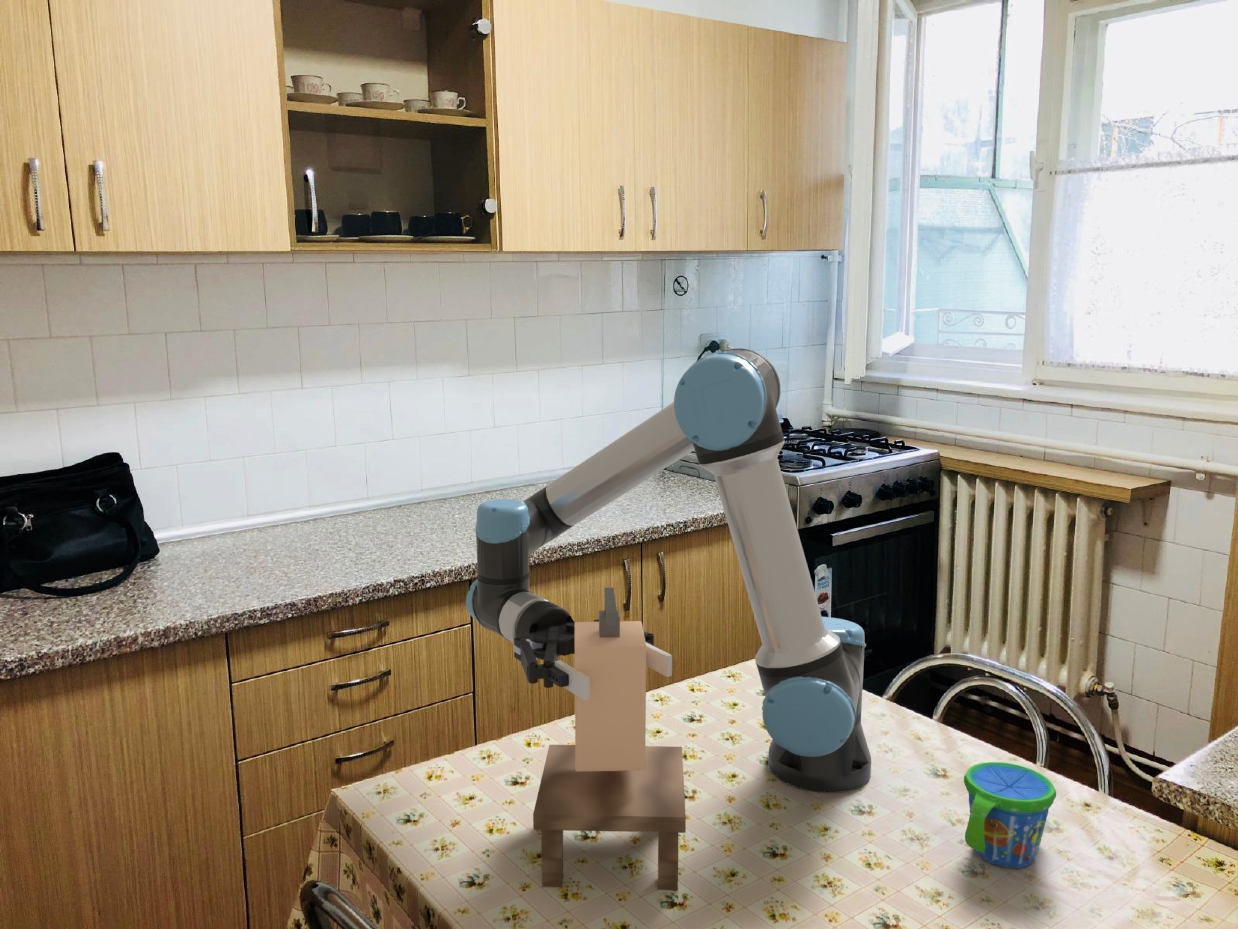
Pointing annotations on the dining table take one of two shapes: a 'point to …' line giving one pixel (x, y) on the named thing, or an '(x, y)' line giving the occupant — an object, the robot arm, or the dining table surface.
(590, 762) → the soap dispenser
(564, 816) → the walnut stool
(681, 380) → the robot arm
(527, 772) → the dining table surface
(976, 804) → the snack cup
